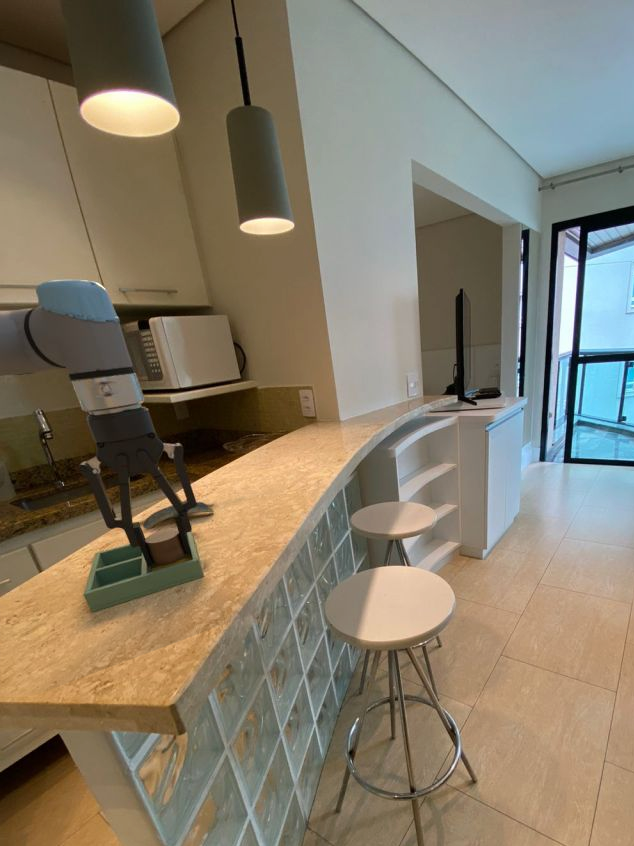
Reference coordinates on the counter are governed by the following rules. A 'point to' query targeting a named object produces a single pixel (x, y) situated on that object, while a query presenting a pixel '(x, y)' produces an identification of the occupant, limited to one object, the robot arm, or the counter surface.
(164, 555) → the brown short cylinder
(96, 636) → the counter surface
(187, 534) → the grid
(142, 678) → the counter surface
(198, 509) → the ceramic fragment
